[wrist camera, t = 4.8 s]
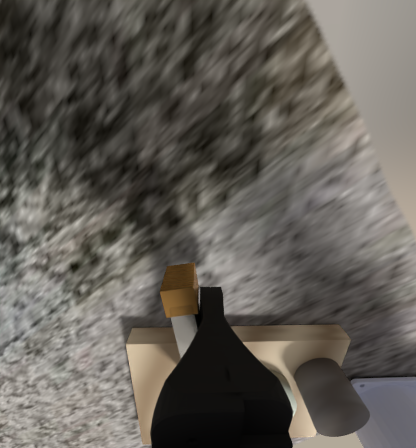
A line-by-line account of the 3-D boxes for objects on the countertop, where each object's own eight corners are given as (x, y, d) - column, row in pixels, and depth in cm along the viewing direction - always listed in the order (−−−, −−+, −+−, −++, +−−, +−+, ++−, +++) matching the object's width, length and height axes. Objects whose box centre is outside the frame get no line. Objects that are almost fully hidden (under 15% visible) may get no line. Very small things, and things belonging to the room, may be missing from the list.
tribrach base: (338, 324, 17) (387, 383, 13) (305, 423, 22) (332, 490, 18) (132, 327, 16) (107, 392, 12) (147, 430, 21) (133, 502, 17)
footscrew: (214, 251, 12) (218, 284, 9) (230, 377, 16) (237, 428, 13) (150, 260, 12) (134, 295, 9) (183, 383, 16) (179, 436, 13)
